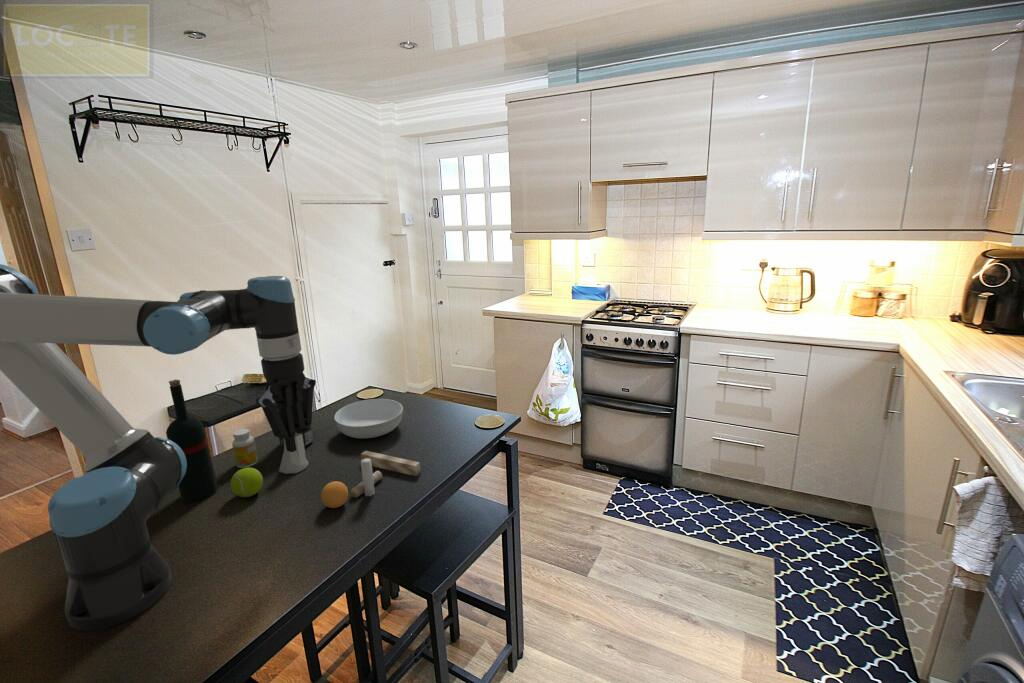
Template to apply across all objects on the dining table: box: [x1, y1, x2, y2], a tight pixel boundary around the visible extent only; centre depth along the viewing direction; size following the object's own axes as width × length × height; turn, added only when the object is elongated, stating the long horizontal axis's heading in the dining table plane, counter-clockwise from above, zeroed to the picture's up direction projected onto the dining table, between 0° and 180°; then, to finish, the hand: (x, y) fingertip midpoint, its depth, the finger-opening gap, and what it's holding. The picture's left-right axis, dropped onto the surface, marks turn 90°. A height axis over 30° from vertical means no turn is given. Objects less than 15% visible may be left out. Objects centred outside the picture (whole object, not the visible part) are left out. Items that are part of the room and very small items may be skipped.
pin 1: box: [360, 459, 376, 497], centre depth 117 cm, size 2×2×9 cm
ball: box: [320, 480, 349, 509], centre depth 113 cm, size 6×6×6 cm
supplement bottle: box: [231, 428, 259, 469], centre depth 134 cm, size 5×5×10 cm
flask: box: [278, 439, 310, 475], centre depth 131 cm, size 7×7×10 cm
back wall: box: [360, 450, 421, 477], centre depth 130 cm, size 18×2×3 cm, turn 66°
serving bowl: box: [333, 398, 404, 439], centre depth 152 cm, size 21×21×7 cm
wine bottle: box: [165, 379, 219, 504], centre depth 116 cm, size 8×10×30 cm
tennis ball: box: [230, 467, 264, 498], centre depth 119 cm, size 7×7×7 cm
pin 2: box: [350, 470, 383, 499], centre depth 121 cm, size 2×2×9 cm
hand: (299, 462), depth 101 cm, fingers closed
